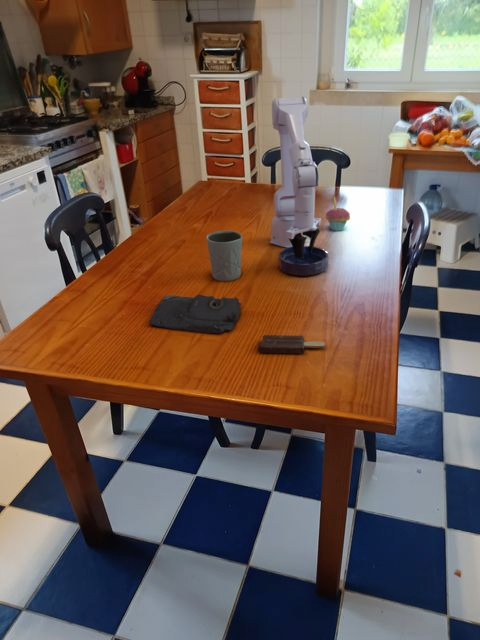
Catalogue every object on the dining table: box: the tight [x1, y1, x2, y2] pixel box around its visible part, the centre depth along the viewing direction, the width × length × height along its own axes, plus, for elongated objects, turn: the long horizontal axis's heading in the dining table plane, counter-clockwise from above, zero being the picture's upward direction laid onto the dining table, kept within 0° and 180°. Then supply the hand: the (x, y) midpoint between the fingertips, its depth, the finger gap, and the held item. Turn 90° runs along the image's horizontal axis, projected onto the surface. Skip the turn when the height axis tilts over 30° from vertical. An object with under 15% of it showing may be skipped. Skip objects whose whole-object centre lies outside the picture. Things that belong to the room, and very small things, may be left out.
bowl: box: [278, 245, 329, 277], centre depth 147 cm, size 15×15×4 cm
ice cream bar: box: [258, 334, 326, 355], centre depth 110 cm, size 5×2×15 cm
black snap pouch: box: [149, 294, 242, 335], centre depth 123 cm, size 15×22×5 cm
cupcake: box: [325, 195, 351, 231], centre depth 172 cm, size 9×8×12 cm
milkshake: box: [296, 234, 313, 264], centre depth 145 cm, size 4×5×10 cm
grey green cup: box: [205, 230, 243, 282], centre depth 141 cm, size 10×10×12 cm
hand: (303, 254), depth 146 cm, fingers closed on milkshake, 4 cm apart
